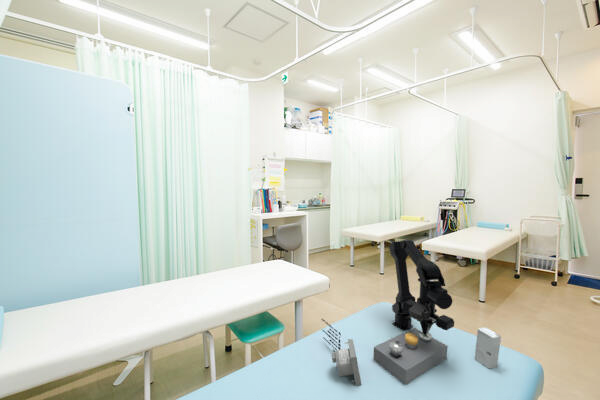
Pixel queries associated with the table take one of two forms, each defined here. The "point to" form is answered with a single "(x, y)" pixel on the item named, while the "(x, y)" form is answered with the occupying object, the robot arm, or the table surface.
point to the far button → (425, 337)
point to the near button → (396, 348)
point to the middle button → (411, 340)
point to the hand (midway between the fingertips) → (425, 334)
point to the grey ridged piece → (345, 358)
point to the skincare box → (487, 347)
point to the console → (410, 357)
